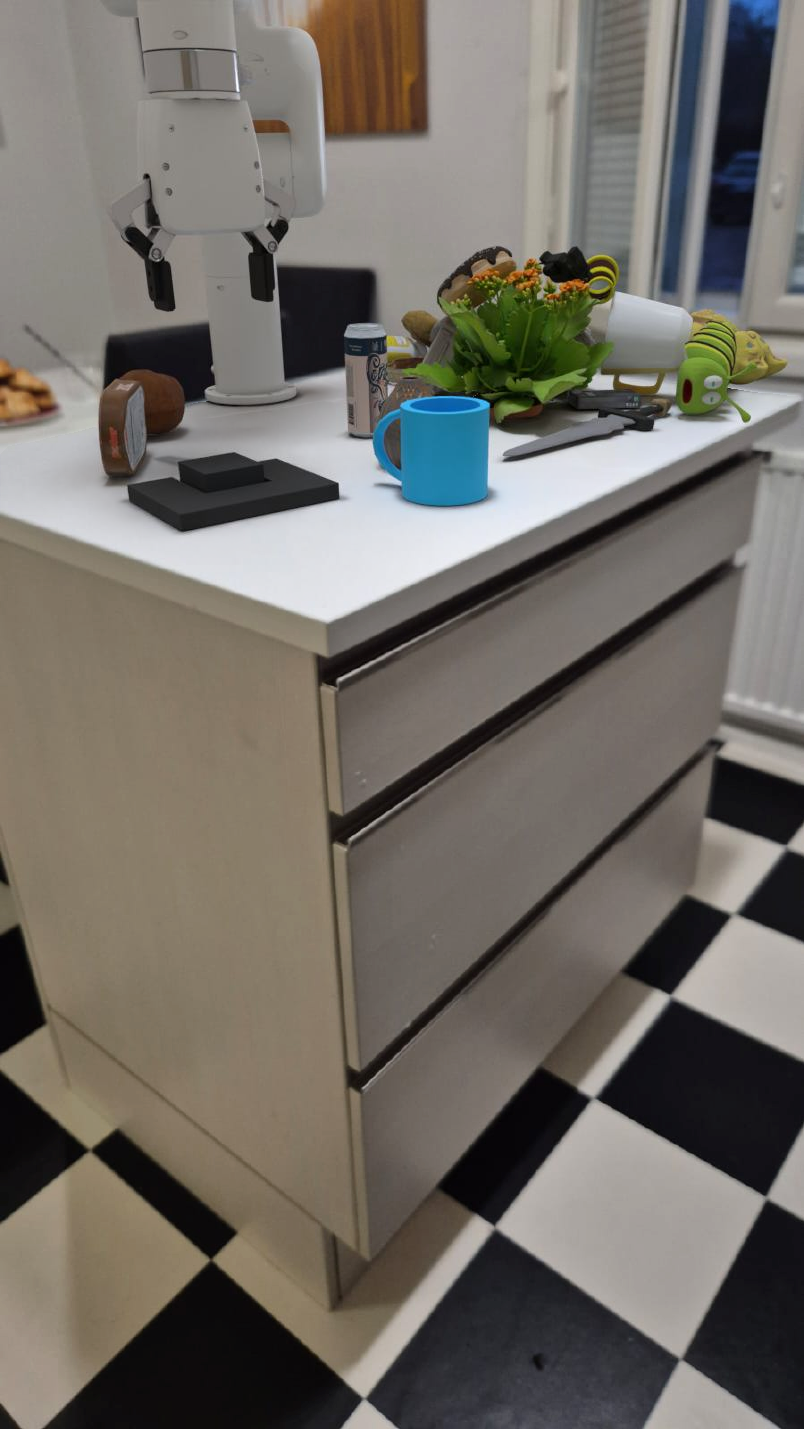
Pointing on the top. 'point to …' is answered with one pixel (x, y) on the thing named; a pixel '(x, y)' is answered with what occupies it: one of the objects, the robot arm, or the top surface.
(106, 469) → the tin
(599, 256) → the opera glasses
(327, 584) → the top surface
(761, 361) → the figurine
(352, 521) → the top surface
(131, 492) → the base pad
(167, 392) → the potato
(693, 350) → the toy
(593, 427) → the dagger
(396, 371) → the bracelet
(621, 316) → the mug
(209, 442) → the top surface
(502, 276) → the donut
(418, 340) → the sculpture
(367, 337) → the beer can
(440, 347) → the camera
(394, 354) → the supplement bottle
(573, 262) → the toy gun
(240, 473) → the small pad
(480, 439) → the mug
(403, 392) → the vase
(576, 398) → the mini dv tape
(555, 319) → the potted flower
